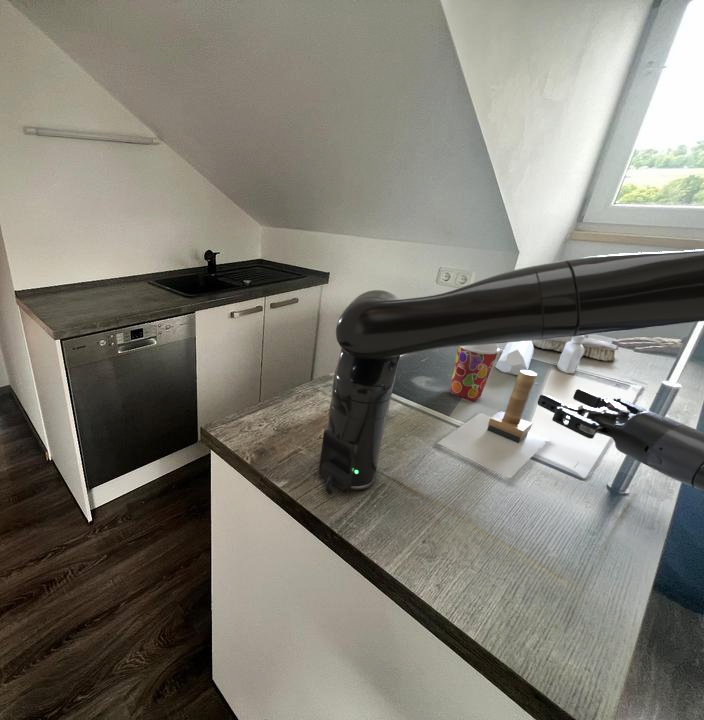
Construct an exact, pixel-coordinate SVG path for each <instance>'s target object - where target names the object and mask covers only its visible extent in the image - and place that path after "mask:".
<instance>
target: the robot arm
mask: <svg viewBox="0 0 704 720" xmlns="http://www.w3.org/2000/svg"><path fill="white" fill-rule="evenodd" d="M699 322H704V248H703V249H695V250H694V249H693V250H684V251H662V252H661V251H660V252H659V251H658V252H642V253H641V252H638V253H636V252H635V253H619V254H608V255H606V254H605V255H596V256H586V257H578V258H570V259H565V260H559V261H552V262H548V263H542V264H536V265H531V266H525V267H521V268H517V269H513V270H509V271H506V272H502V273H498V274H496V275H492V276H489V277H487V278H484V279H481V280H478V281H475V282H472V283H470V284H467V285H464V286H462V287H459V288H455V289H453V290H450V291H446V292H442V293H437V294H432V295H426V296H420V297H412V298H411V297H410V298H403V299H401V298H399V297H398V296H397V295H395V294H393V293H392V292H389V291H387V290H381V289H372V290H368V291H365V292H363V293H361V294H359V295H358V296H356V297H355V298H354V299H353V300H352V301H351V302H350V303H349V304H348V305H347V306H346V308H345V309H344V310H343V311H342V313H341V314H340V316H339V318H338V321H337V323H336V327H335V338H336V342H337V343H338V345H339V346H340V353H339V357H338V361H337V365H336V367H335V370H334V373H333V374H334V375H333V382H332V391H331V398H330V404H329V411H328V417H327V418H328V419H327V427H326V429H324V430H323V436H322V442H321V450H320V458H319V465H318V475H319V476H321V477H322V478H324V479H326V481H325V485H324V488H325V491H326V492H327V494H328V495H332V494H333V493H334V491H333V489H332V488H331V486H332V484H333V486H335V487H337V488H338V489H339V490H341V491H343V492H344V493H348V492H349V491H363V490H367V489H369V488H371V487H372V486H373V485H374V483H375V481H376V477H377V476H376V475H377V474H376V473H377V468H378V463H379V458H380V454H381V448H382V444H383V440H384V439H383V438H384V434H385V428H386V424H387V419H388V415H389V414H388V413H389V409H390V404H391V400H392V395H393V389H394V387H395V382H396V378H397V374H398V369H399V364H400V360H401V356H404V355H410V354H414V353H420V352H427V351H431V350H437V349H445V348H455V347H458V346H472V345H486V344H508V342H519V341H536V340H547V339H557V338H567V337H577V336H584V335H589V336H590V335H598V334H606V333H617V332H626V331H637V330H645V329H653V328H661V327H668V326H676V325H683V324H690V323H691V324H692V323H699ZM572 398H573V400H575V402H576V401H577V402H579V403H581V404H583V405H580V406H576V405H572V404H568V403H565V402H563V401H561V400H559V399H557V398H555V397H552V396H551V395H548V394H546V393H544V394H540V395H539V397H538V399H537V405H538V406H539V407H540V408H543V409H546V411H549V412H551V413H553V416H552V419H551V420H552V422H554V423H557V424H558V425H560V426H562V427H564V428H566V429H568V430H570V431H572V432H575V433H577V434H578V435H580V436H583V437H584V438H587V439H592V440H593V439H594V438H595V435H596V434H600V435H603V436H606V437H609V438H611V439H613V441H614V446H615V448H616V450H617V451H618V452H620V453H622V454H624V455H625V456H628V457H630V458H631V459H633V460H635V461H637V462H639V463H641V464H643V465H645V466H647V467H649V468H651V469H652V470H654V471H657V472H659V473H660V474H663V475H665V476H666V477H668V478H670V479H672V480H675V481H677V482H680V483H683V484H685V485H687V486H690V487H692V488H694V489H696V490H697V491H700V492H702V493H704V431H701V430H698V429H696V428H694V427H692V426H689V425H686V424H684V423H681V422H679V421H677V420H674V419H671V418H670V417H667V416H664V415H662V414H660V413H658V412H654V411H651V410H648V409H645V408H643V407H641V406H639V405H637V404H635V403H632V402H631V401H630V402H629V401H628V400H625V399H623V398H621V397H614V398H610V397H607V396H599V395H598V394H595V393H593V392H591V391H588V390H586V389H583V388H578V389H576V390H575V391H574V394H573V397H572ZM585 414H586V415H587V416H586V417H585ZM661 415H662V416H661ZM663 416H664V417H663ZM662 417H663V419H662ZM661 419H662V421H661Z"/></svg>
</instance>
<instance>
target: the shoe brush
mask: <svg viewBox="0 0 704 720" xmlns="http://www.w3.org/2000/svg"><path fill="white" fill-rule="evenodd" d="M571 339H572V337H567V338H557V339H547V340H536V341H532V344H533V346H535V347H537V348H541V349H542V350H545V349H546V350H552V351H556V352H561V353H562V351H563V349H564V346H565V344H566V343H567V342H571ZM581 344H582V345H583V348H584V351H583V354H582V356H581V357H584V356H585V357H586V358H588V357H589V359H594V360H598V361H599V360H601V361H603V362H608V361H609V362H611V361H615V358H616V357H615V355H616V353H615V352H616V351H618V350H619V346H617V345H615V344H613V343H611V342H607V341H603V340H599V339H595V338H594V339H593V338H589V337H588V338H584V339H583V342H582V343H581Z"/></svg>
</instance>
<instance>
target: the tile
mask: <svg viewBox="0 0 704 720" xmlns="http://www.w3.org/2000/svg"><path fill="white" fill-rule="evenodd" d="M491 417H492V416H490V415H488V414H486V413H483V412H479V413H478V414H476V415H475V416H474V417H472V418H471V419H469V420H468V421H466V422H465V423H463V424H462V425H460V426H459V427H458V428H456V429H455V430H453V431H452V432H451V433H449V434H447V435H446V436H445V437H444V438H442V439H440V440H439V441H438V442H436V444H437V445H439V446H440V447H441V446H442V447H443V448H445V449H447V450H450V451H451V452H454V453H456V454H457V455H459V456H461V457H464V458H466V459H468V460H470V461H472V462H474V463H476V464H478V465H481V466H483V467H484V468H487V469H489V470H491V471H492V472H495V473H497V474H499V475H502V476H503V477H505V478H507V479H508V480H509V479H512V478H513V477H514V476H515V475H516V473H518V472H519V470H521V469H522V468H523V467H524V466H525V465H526V464H527V463H528V461H530V460H531V458H533V457H534V456H535V454H537V452H539V450H541V449H542V448H543V446H545V445H546V444H547V442H549V441H550V439H549V438H547V437H543V436H541V435H538V434H537V433H533V432H532V431H529V432H528V434H527V436H526V437H525V438H523V439H522V440H521V441H520V442H519V443H517V442H514V441H512V440H510V439H507V438H505V437H502V436H500V435H498V434H495V433H493V432H490V431H488V430H487V429H488V426H489V425H488V423H489V420H490V418H491Z"/></svg>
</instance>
